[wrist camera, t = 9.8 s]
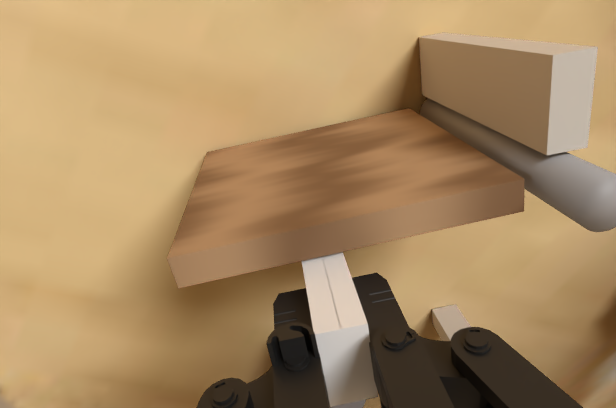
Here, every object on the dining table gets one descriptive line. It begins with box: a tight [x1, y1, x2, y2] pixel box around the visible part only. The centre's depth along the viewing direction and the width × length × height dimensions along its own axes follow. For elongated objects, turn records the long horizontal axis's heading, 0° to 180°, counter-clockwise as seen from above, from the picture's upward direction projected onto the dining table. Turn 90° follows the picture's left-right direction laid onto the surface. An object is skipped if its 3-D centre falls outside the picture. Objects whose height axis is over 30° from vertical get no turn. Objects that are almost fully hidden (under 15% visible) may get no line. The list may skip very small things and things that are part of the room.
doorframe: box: [419, 33, 616, 341], centre depth 22 cm, size 20×2×14 cm, turn 10°
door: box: [167, 108, 524, 288], centre depth 20 cm, size 12×3×12 cm, turn 101°
